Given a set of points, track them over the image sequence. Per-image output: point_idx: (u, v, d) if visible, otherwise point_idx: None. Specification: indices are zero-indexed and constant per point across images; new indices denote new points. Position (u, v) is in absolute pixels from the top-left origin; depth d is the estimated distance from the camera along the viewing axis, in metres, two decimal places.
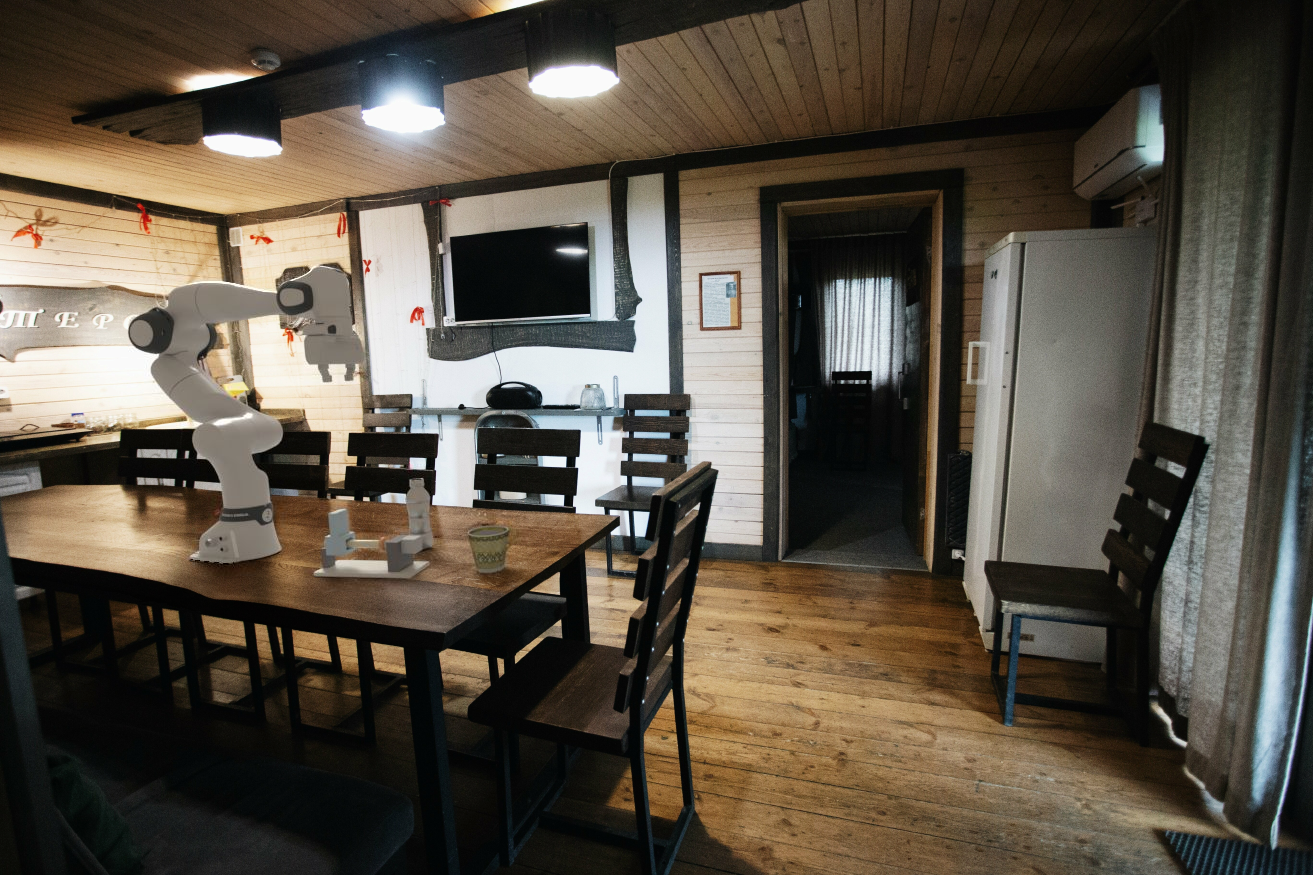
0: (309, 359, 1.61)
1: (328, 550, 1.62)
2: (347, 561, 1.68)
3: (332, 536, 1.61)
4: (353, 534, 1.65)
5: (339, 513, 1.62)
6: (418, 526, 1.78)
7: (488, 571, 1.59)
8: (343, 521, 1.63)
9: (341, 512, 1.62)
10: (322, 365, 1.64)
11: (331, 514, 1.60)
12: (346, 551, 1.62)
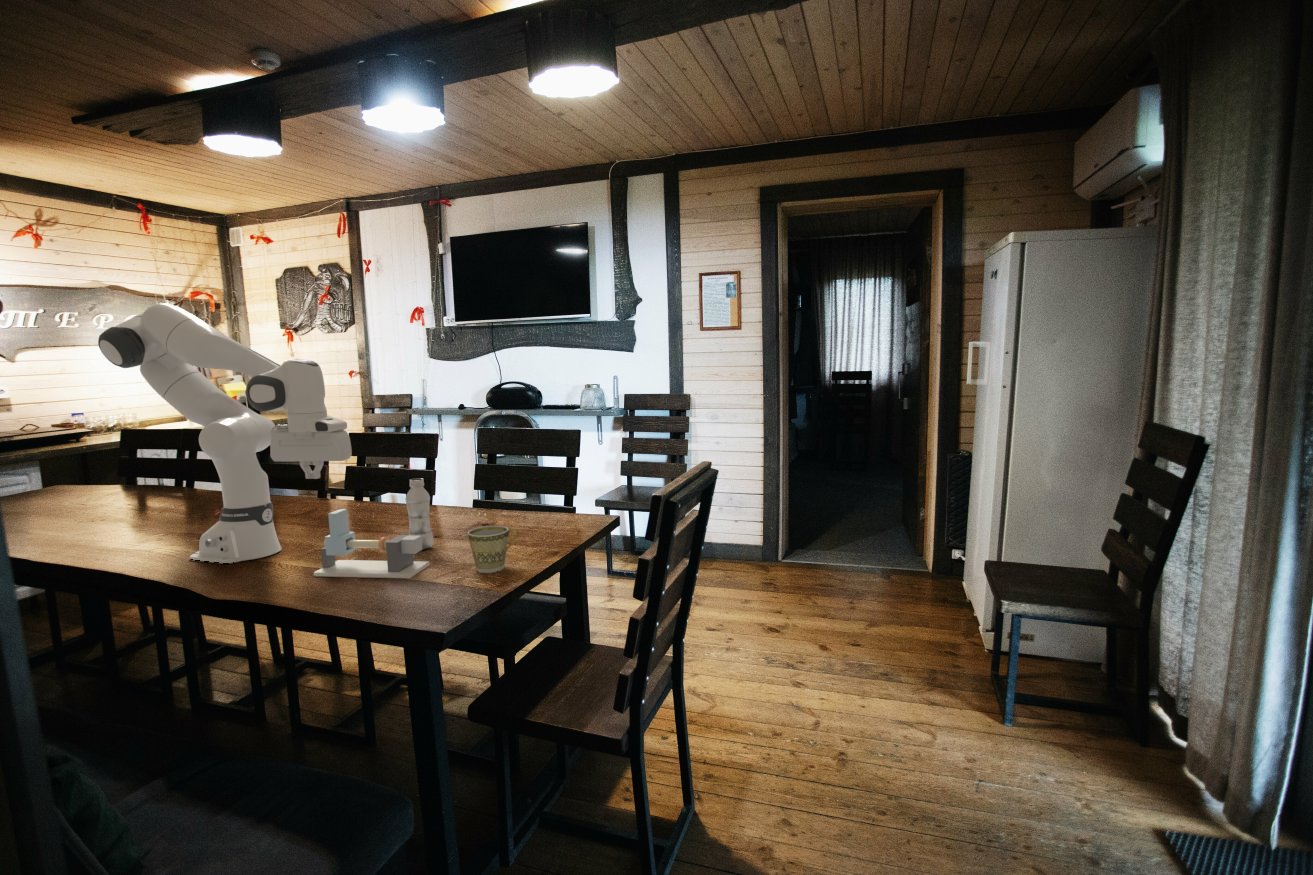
0: (346, 455, 1.59)
1: (328, 550, 1.62)
2: (347, 561, 1.68)
3: (332, 536, 1.61)
4: (353, 534, 1.65)
5: (339, 513, 1.62)
6: (418, 526, 1.78)
7: (488, 571, 1.59)
8: (343, 521, 1.63)
9: (341, 512, 1.62)
10: (321, 461, 1.62)
11: (331, 514, 1.60)
12: (346, 551, 1.62)
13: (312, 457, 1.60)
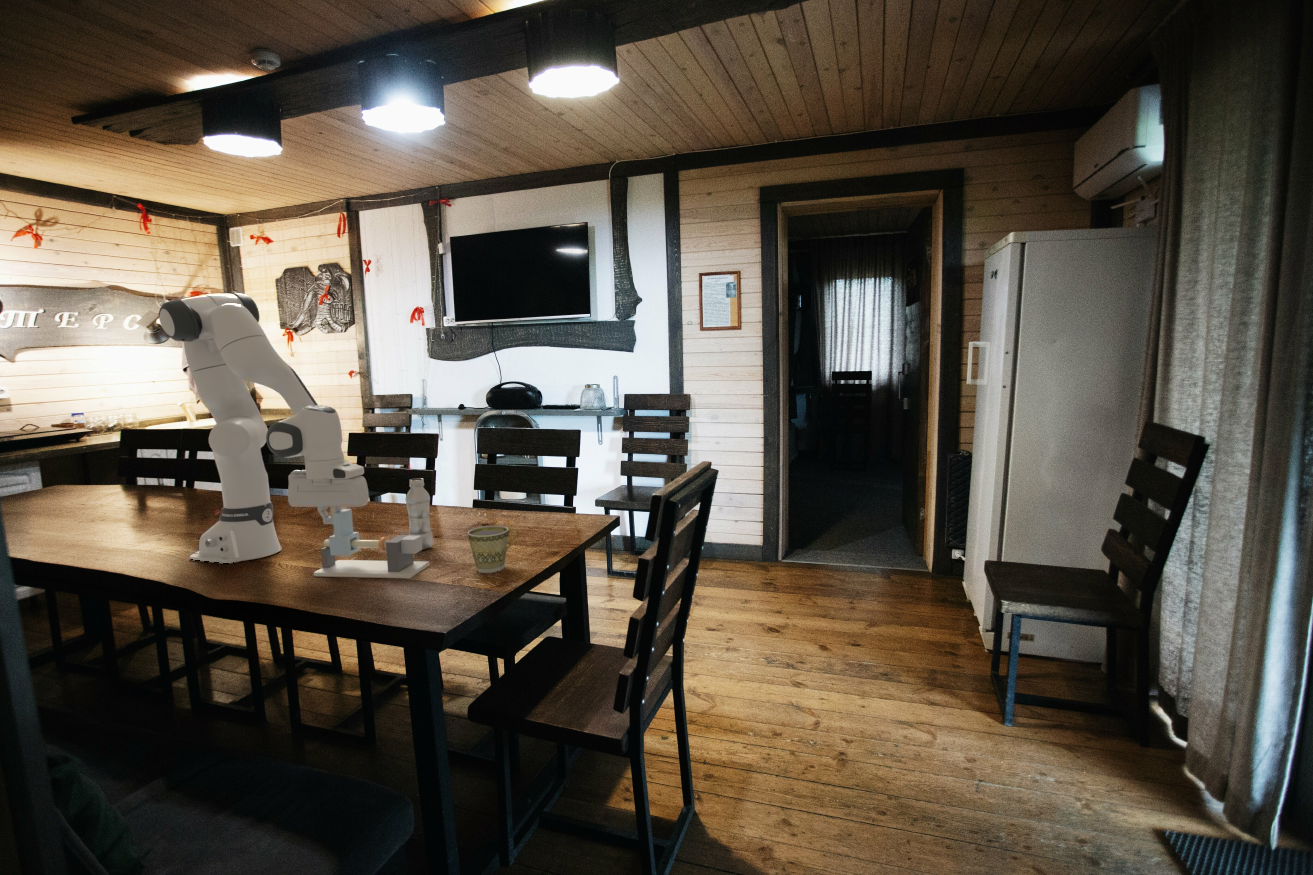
0: (363, 501, 1.60)
1: (332, 550, 1.61)
2: (347, 561, 1.68)
3: (336, 536, 1.61)
4: (357, 534, 1.65)
5: (343, 513, 1.61)
6: (418, 526, 1.78)
7: (488, 571, 1.59)
8: (347, 521, 1.63)
9: (345, 512, 1.62)
10: None
11: (335, 514, 1.60)
12: (350, 551, 1.62)
13: (330, 503, 1.60)
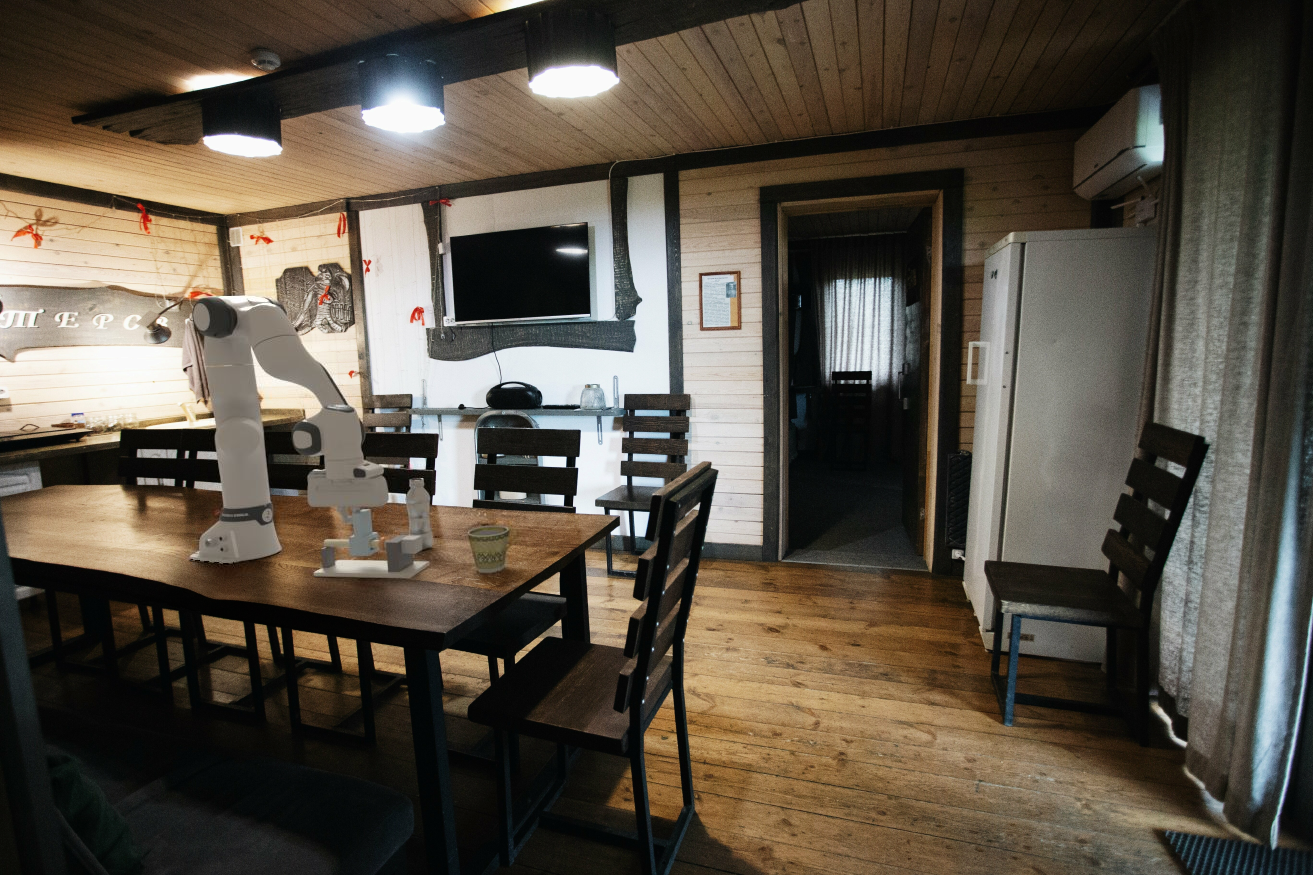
0: (383, 501, 1.59)
1: (352, 550, 1.61)
2: (347, 561, 1.68)
3: (356, 536, 1.60)
4: (376, 534, 1.64)
5: (363, 513, 1.61)
6: (418, 526, 1.78)
7: (488, 571, 1.59)
8: (367, 521, 1.62)
9: (365, 512, 1.62)
10: None
11: (355, 514, 1.59)
12: (370, 551, 1.61)
13: (350, 503, 1.60)
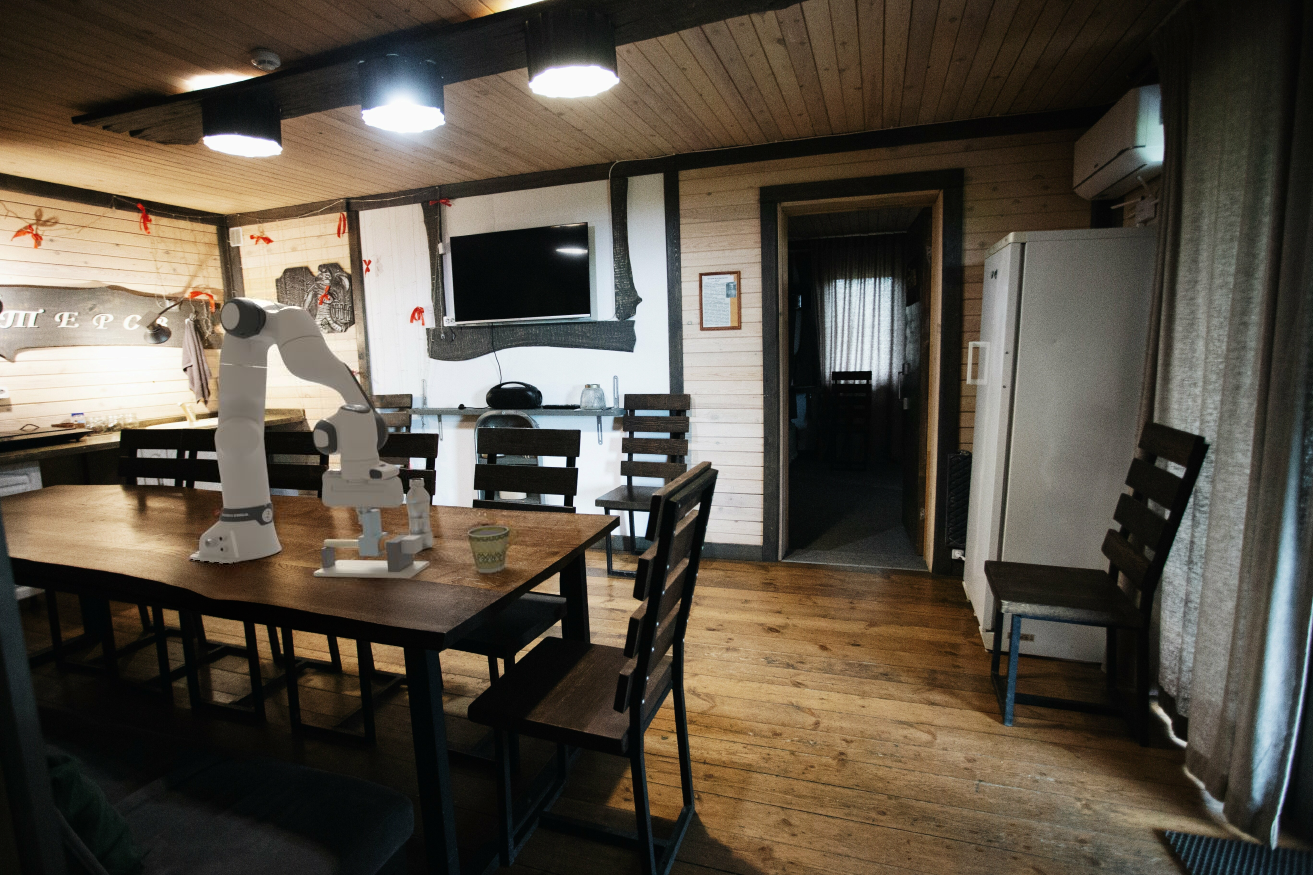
0: (399, 502, 1.59)
1: (361, 551, 1.60)
2: (347, 561, 1.68)
3: (365, 536, 1.60)
4: (386, 534, 1.64)
5: (372, 513, 1.60)
6: (418, 526, 1.78)
7: (488, 571, 1.59)
8: (376, 521, 1.62)
9: (374, 512, 1.61)
10: (369, 506, 1.61)
11: (365, 514, 1.59)
12: (379, 552, 1.61)
13: (365, 503, 1.59)
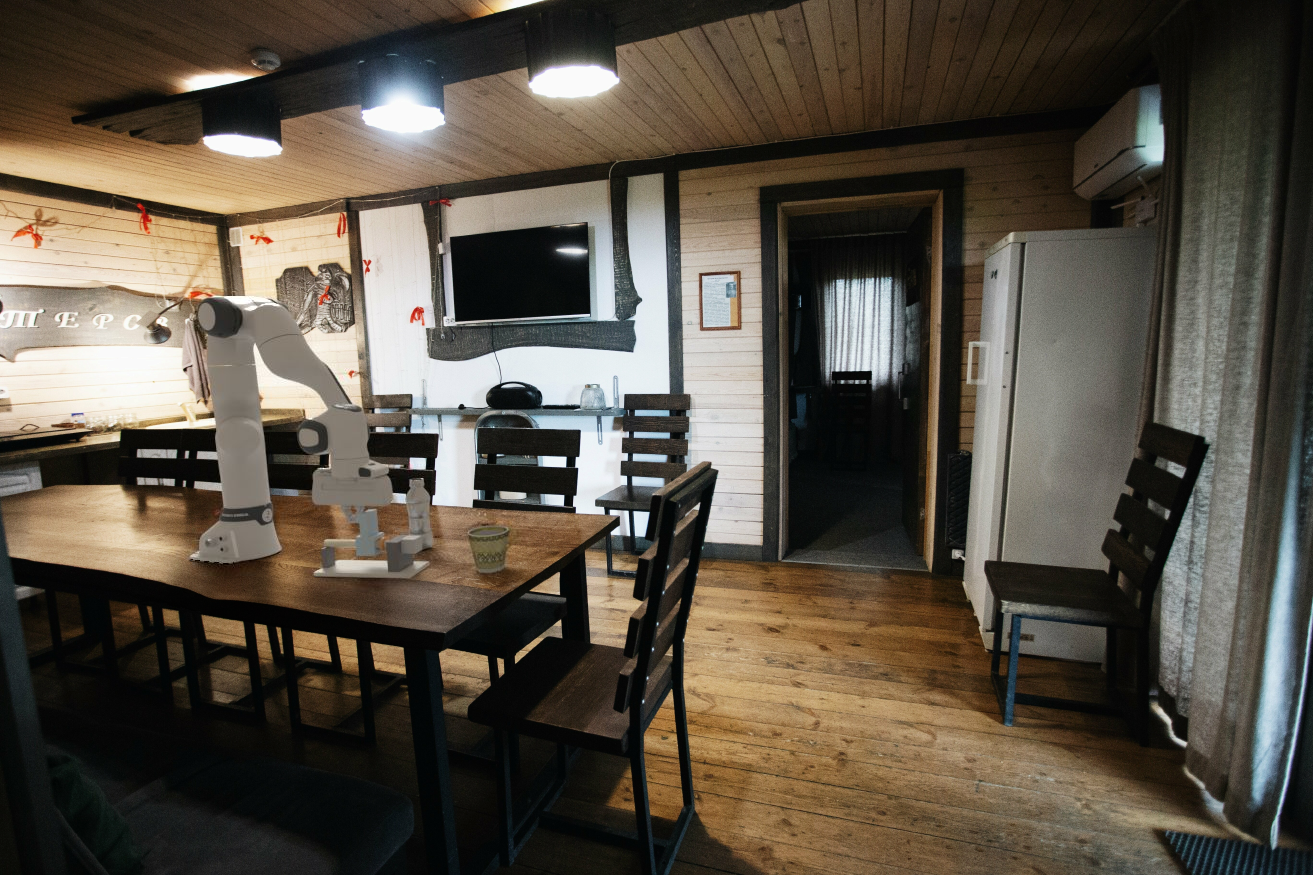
0: (387, 501, 1.60)
1: (358, 550, 1.60)
2: (347, 561, 1.68)
3: (362, 536, 1.60)
4: (383, 534, 1.64)
5: (369, 513, 1.61)
6: (418, 526, 1.78)
7: (488, 571, 1.59)
8: (373, 521, 1.62)
9: (371, 512, 1.61)
10: None
11: (361, 514, 1.59)
12: (376, 551, 1.61)
13: (354, 502, 1.60)
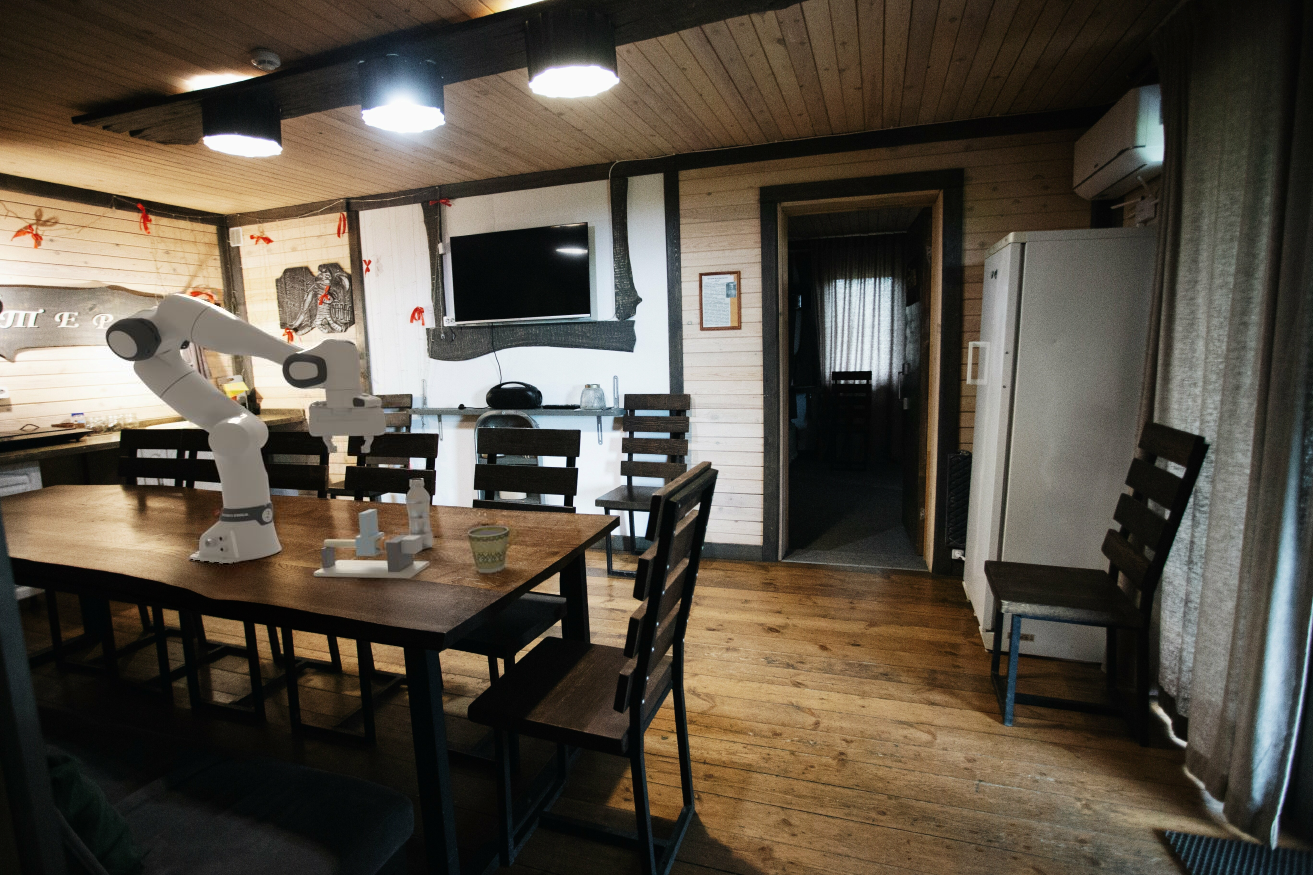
0: (381, 430, 1.67)
1: (358, 550, 1.60)
2: (347, 561, 1.68)
3: (362, 536, 1.60)
4: (383, 534, 1.64)
5: (369, 513, 1.61)
6: (418, 526, 1.78)
7: (488, 571, 1.59)
8: (373, 521, 1.62)
9: (371, 512, 1.61)
10: (371, 435, 1.69)
11: (361, 514, 1.59)
12: (376, 551, 1.61)
13: (349, 432, 1.67)
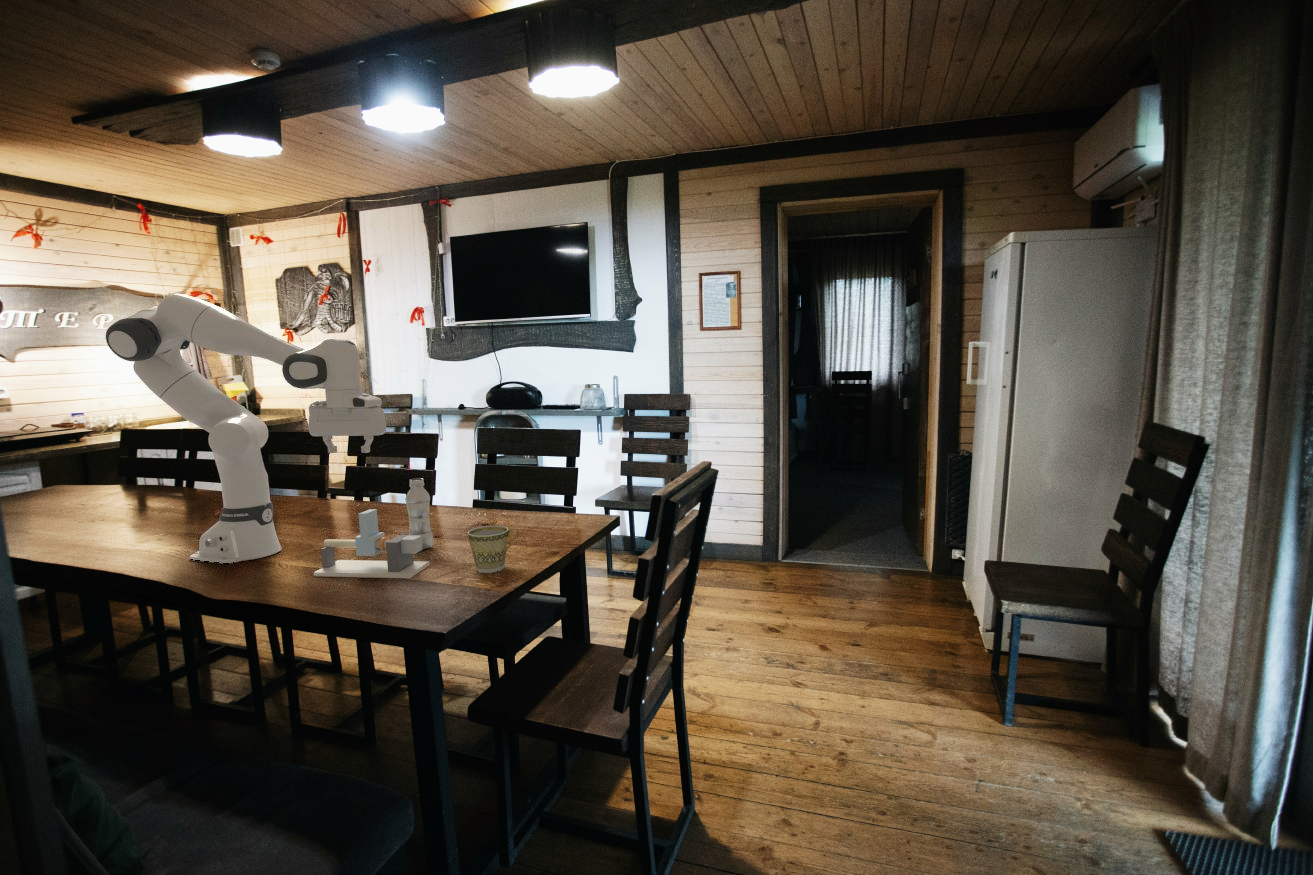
0: (381, 430, 1.67)
1: (358, 550, 1.60)
2: (347, 561, 1.68)
3: (362, 536, 1.60)
4: (383, 534, 1.64)
5: (369, 513, 1.61)
6: (418, 526, 1.78)
7: (488, 571, 1.59)
8: (373, 521, 1.62)
9: (371, 512, 1.61)
10: (371, 435, 1.69)
11: (361, 514, 1.59)
12: (376, 551, 1.61)
13: (349, 432, 1.67)
